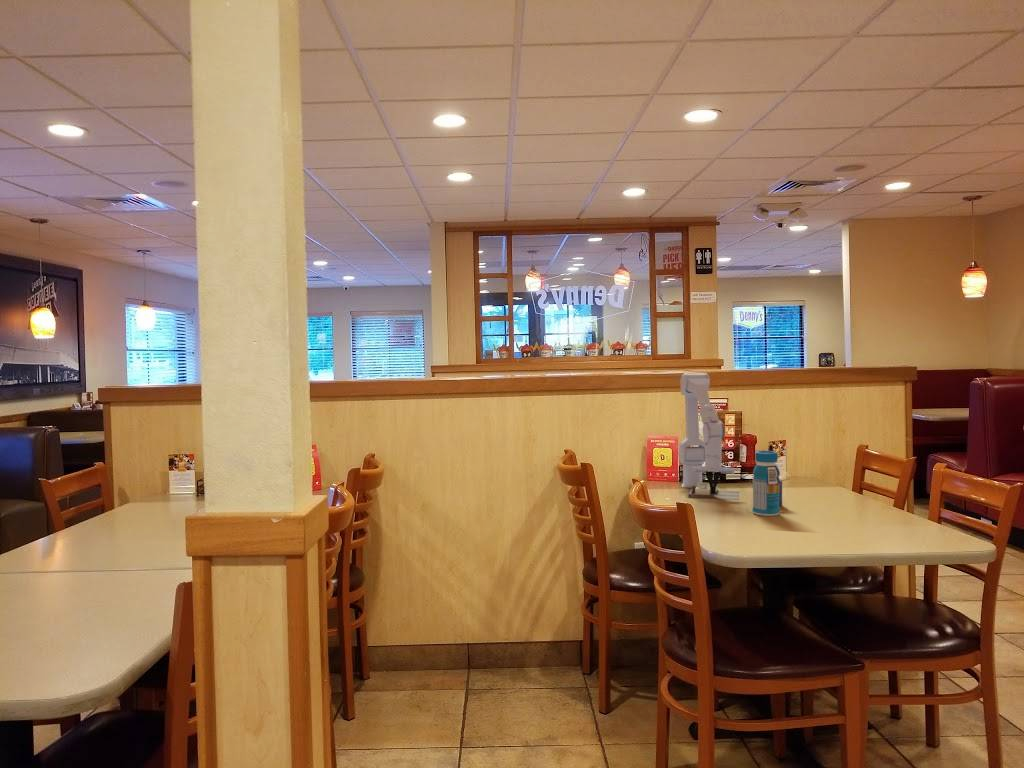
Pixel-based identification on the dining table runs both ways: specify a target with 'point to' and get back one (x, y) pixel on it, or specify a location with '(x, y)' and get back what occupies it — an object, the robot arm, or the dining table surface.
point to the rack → (718, 494)
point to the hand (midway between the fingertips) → (713, 493)
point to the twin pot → (703, 484)
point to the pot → (702, 490)
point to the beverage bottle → (766, 484)
